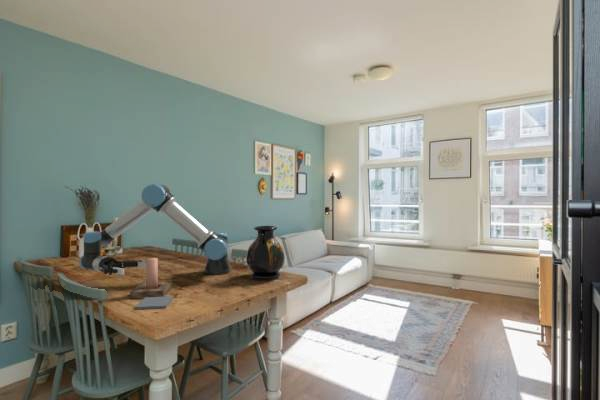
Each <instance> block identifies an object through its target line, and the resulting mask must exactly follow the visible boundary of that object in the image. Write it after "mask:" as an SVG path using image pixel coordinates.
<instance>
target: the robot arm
mask: <svg viewBox="0 0 600 400" xmlns="http://www.w3.org/2000/svg"><path fill="white" fill-rule="evenodd" d="M152 211H156V212H157V213H158V214H164V215H165V216H166V217H168V218H169V219H170V220H171V221H172V222H173V223H174V224H175V225H177V226H178V228H180V229H182V231H183V232H185V233H186V234H187V235H188V236H189V237H190V238H192V239H193V240H194V241H195V242H196V243H197V248H198V249H200V250H201V251H202V252H203V253H204V255H205V256H206V258H207V259H206V262H205V264H204V265H205V266H204V269H203V271H204V272H203V273H205V275H212V276H213V275H214V276H215V275H225V274H227V273H230V272H231V265H230V262H229V259H228V258H229V257H228V239H229V238H228V237H229V236H228V234H227V233H226V232H215V231H214V230H208V229H207V228H206V227H205V226H204V225H203V224H202V223H200V222H199V221H198V220H197V219H196V218H195V217H194V216H193V215H192V214H190V213H189V212H188V211H187V210H186V209H184V208H183V207H182V206H181V205H180V204H179V203H178V202H177V201H176V197H175V195H173V194H172V193H171V190H170V189H169V188H168V187H167V186H165V185H164V184H159V183H150V184H148V185H146V186H144V188H143V190H142V191H141V201H140V202H139V203H137V204H136V205H135V206H133V207H132V208H130V209H129V210H128V211H126V212H125V213H124V214H123V215H121V216H120V217H119V218H117V219H115V221H113V222H112V223H110V225H108V226H106V227H105V228H104V229H102V230H101V231H87V232H86V231H85V232H84V234H83V255H81V257H80V259H79V260H78V265H79V267H80V268H81V269H84V270H89V271H96V272H100V273H103V274H104V275H109V276H112V275H113V274H115V275H120V276H123V275H125V268H139V269H140V268H141V269H146V261H145V262H143V260H141V259H139V260H127V259H126V260H121V261H120V260H117V259H116V258H115V257H111V256H104V255H103V256H102V248H103V247H107V246H109V245H110V244H111V243H113V241H114V240H115V239H117V238H118V237H119V236H121V235H122V234H124V232H126V231H128V230H129V229H130V228H131V227H133V226H134V225H135V224H136V223H139V221H140V220H142V219H143V218H145V217H146V215H148V214H150V213H151V212H152Z"/></svg>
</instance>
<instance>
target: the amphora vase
mask: <svg viewBox="0 0 600 400" xmlns="http://www.w3.org/2000/svg"><path fill="white" fill-rule="evenodd" d="M253 230H255V231H256V232H257V235H256V238H255V239H254V240H253V242H252V243H250V245H249V247H248V248H247V252H246V257H245V263H246V266H247V268H248V269H249V270H250V271H251V273H250V277H251V279H254V280H259V281H270V280H276V279H278V278H280V276H281V272H280V271H281V269H282V268H283V267H284V264H285V261H286V260H285V259H286V256H285V251H284V249H283V247H282V244H281V243H280V242H279V241H278V240H277V239H276V238H275V236H274V235H275V234H274V232H275V231H276V230H278V227H277V226H274V225H258V226H254V227H253Z"/></svg>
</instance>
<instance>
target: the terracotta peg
mask: <svg viewBox="0 0 600 400" xmlns="http://www.w3.org/2000/svg"><path fill="white" fill-rule="evenodd" d="M145 262H146V268H145V283H146V289H158V282H159V265H158V264H159V259H158V257H148V258H146V259H145Z"/></svg>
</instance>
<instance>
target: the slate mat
mask: <svg viewBox="0 0 600 400" xmlns="http://www.w3.org/2000/svg"><path fill="white" fill-rule="evenodd" d="M174 298H175V296H174V295H173V296H172V295H171V296H170V295H169V296H168V295H167V296H166V295H165V296H164V297H145V298H142V300H141V301H140V302H138V303H137V305H135V306H134V310H153V309H154V310H155V309H156V310H157V309H159V310H160V309H167V306H168V307H169V305H170V304H171V303H172V302H173V300H174Z"/></svg>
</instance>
